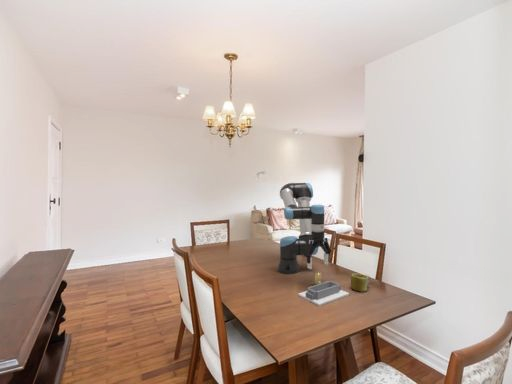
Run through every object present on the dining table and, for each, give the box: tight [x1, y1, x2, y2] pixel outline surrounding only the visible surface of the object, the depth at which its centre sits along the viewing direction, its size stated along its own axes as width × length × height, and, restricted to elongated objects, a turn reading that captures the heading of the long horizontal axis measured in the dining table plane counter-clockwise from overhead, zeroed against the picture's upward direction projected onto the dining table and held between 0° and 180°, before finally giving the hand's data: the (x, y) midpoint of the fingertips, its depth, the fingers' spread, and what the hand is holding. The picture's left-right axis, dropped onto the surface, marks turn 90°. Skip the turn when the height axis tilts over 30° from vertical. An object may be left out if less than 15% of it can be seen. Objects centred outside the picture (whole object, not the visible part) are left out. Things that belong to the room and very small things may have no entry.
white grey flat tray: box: [297, 280, 350, 307], centre depth 153 cm, size 16×23×5 cm
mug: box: [350, 273, 371, 293], centre depth 160 cm, size 12×10×10 cm
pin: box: [314, 271, 322, 285], centre depth 166 cm, size 4×4×8 cm
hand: (318, 266), depth 165 cm, fingers open, 13 cm apart
